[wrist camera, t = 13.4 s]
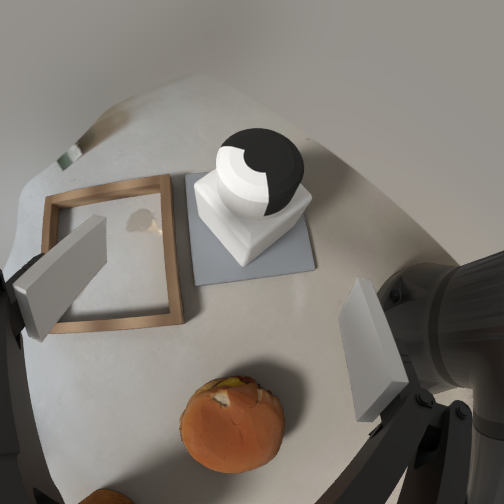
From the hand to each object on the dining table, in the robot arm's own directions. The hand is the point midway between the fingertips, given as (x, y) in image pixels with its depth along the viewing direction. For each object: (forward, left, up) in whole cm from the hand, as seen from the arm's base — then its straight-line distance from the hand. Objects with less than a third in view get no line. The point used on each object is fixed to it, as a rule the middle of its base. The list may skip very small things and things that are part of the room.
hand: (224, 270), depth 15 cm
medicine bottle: (-3, -8, -15) cm, 17 cm away
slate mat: (-4, -8, -15) cm, 17 cm away
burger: (+1, +12, -15) cm, 19 cm away
